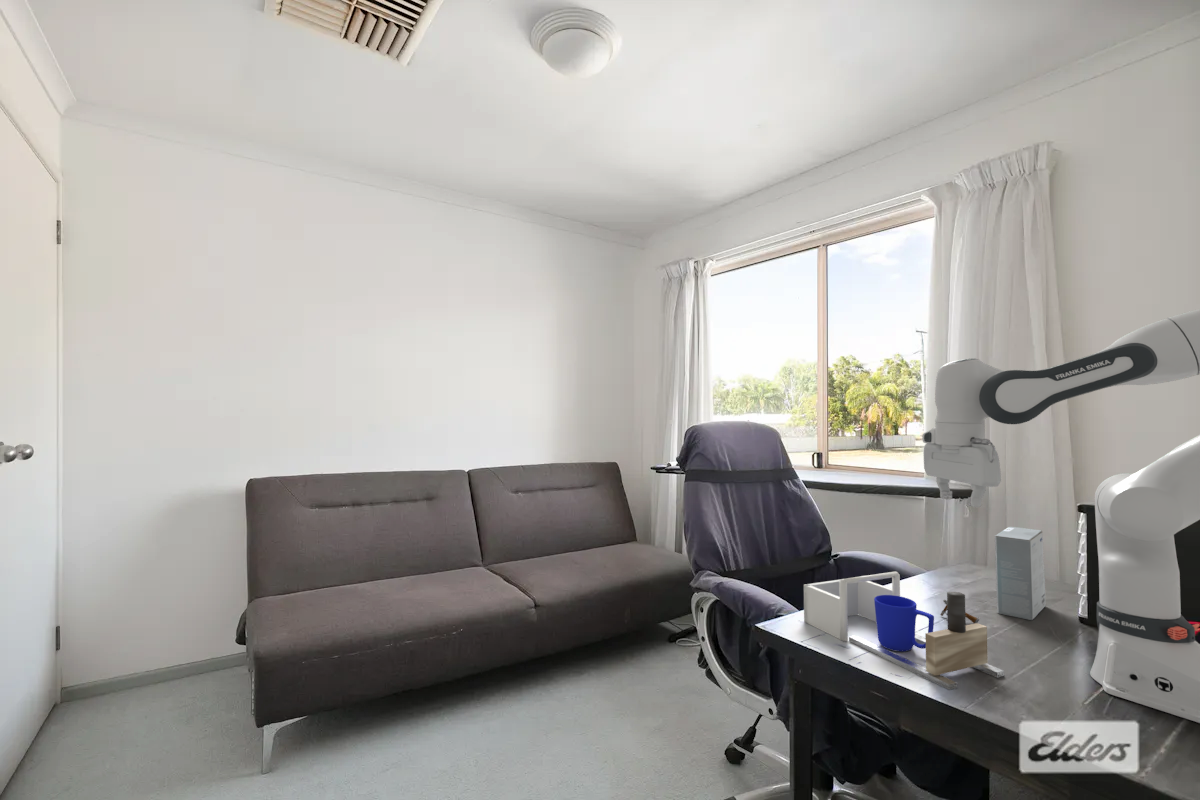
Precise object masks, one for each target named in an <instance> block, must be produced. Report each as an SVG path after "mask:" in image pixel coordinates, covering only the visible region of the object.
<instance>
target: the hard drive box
mask: <svg viewBox="0 0 1200 800" xmlns="http://www.w3.org/2000/svg"><path fill="white" fill-rule="evenodd" d="M994 552H995V553H994V555H995V557H994V558H995V581H996V582H995V584H996V585H995V588H996V589H995V590H996V612H997V614H999V615H1005V616H1009V617H1014V618H1019V619H1024V620H1027V621H1028V620H1029V621H1033V620H1034V619H1035V618H1036V617H1037V616H1038V614H1039V613H1040V612H1041V611H1042V610H1043V609H1044V608H1045V607H1046V604H1047V602H1046V579H1045V577H1046V576H1045V559H1044V557H1045V556H1044V554H1045V553H1044V534H1043V530H1041V529H1034V528H1033V529H1032V528H1027V527H1026V528H1024V527H1017V526H1008V527H1007V528H1005V529H1003V530H1001V531H1000V532H999V533H997V534H996V535H994Z"/></svg>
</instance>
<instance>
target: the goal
mask: <svg viewBox="0 0 1200 800" xmlns="http://www.w3.org/2000/svg"><path fill="white" fill-rule="evenodd" d="M890 578H891V580H892V581H891V586H892V587H888V586H884V585H881V584H879V583H877V582H873V581H878V580H883V579H890ZM900 579H901V577H900V574H899V572H898V571H889V572H888V571H887V572H883V573H876V574H870V575H869V574H868V575H861V576H855V577H853V576H852V577H848V578H841V579H834V580H827V581H820V582H813V583H807V584H803V622H804V623H806V624H808V625H810V626H812V627H814V628H816V629H818V630H820V631H822V632H825V633H826V634H828V635H830V636H832V637H834V638H836V639H838V640H840V641H842V642H849V634H848V631H849V630H848V629H849V627H848V626H849V624H848V623H849V622H848V618H849V617H852V616H861V617H863V618H865V619H868V620H870V621H873V622H875V623H876V613H875V602H874V598H875V597H877V596H880V595H894V596H900V597H901V581H900Z"/></svg>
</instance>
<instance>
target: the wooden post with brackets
mask: <svg viewBox="0 0 1200 800" xmlns="http://www.w3.org/2000/svg"><path fill="white" fill-rule="evenodd" d="M942 601H943V603H944V605H945V606H944V608H943V610H942V611H941V612H940V614H939V615H940V616H941V617H943V616H944V615H946V616H947V599H943V600H942ZM965 618H966V619H968V620H970V621H971V622H972V624H975V623H978V624H979V621H980V619H981V617H979V616H978V617H975V616H974V615H972V614H969V613H967V612H966V611H965Z"/></svg>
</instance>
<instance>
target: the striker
mask: <svg viewBox="0 0 1200 800" xmlns="http://www.w3.org/2000/svg"><path fill="white" fill-rule="evenodd" d="M946 601H947V611H946V613H947V615H946V616H947V617H946V619H947V628H945V629H941V630H936V631H933V632H930V633H928V632H926V633H925V637H924V638H926V648H925V668H926V671H927V672H929V673H931V674H933V675H935V676H936V675H943V674H947V673H951V672H956V671H960V670H964V669H969V668H973V666H978V665H982V664H986V663H987V664H989V662H988V661H989V660H988V627H987V626H986V625H984V624H980V623H979V622H978V623H975V624H974V623H971V624H966V621H967V620H966V619H967V618H966V617H965V612H966V594H965V593H962V592H957V591H946Z"/></svg>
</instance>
